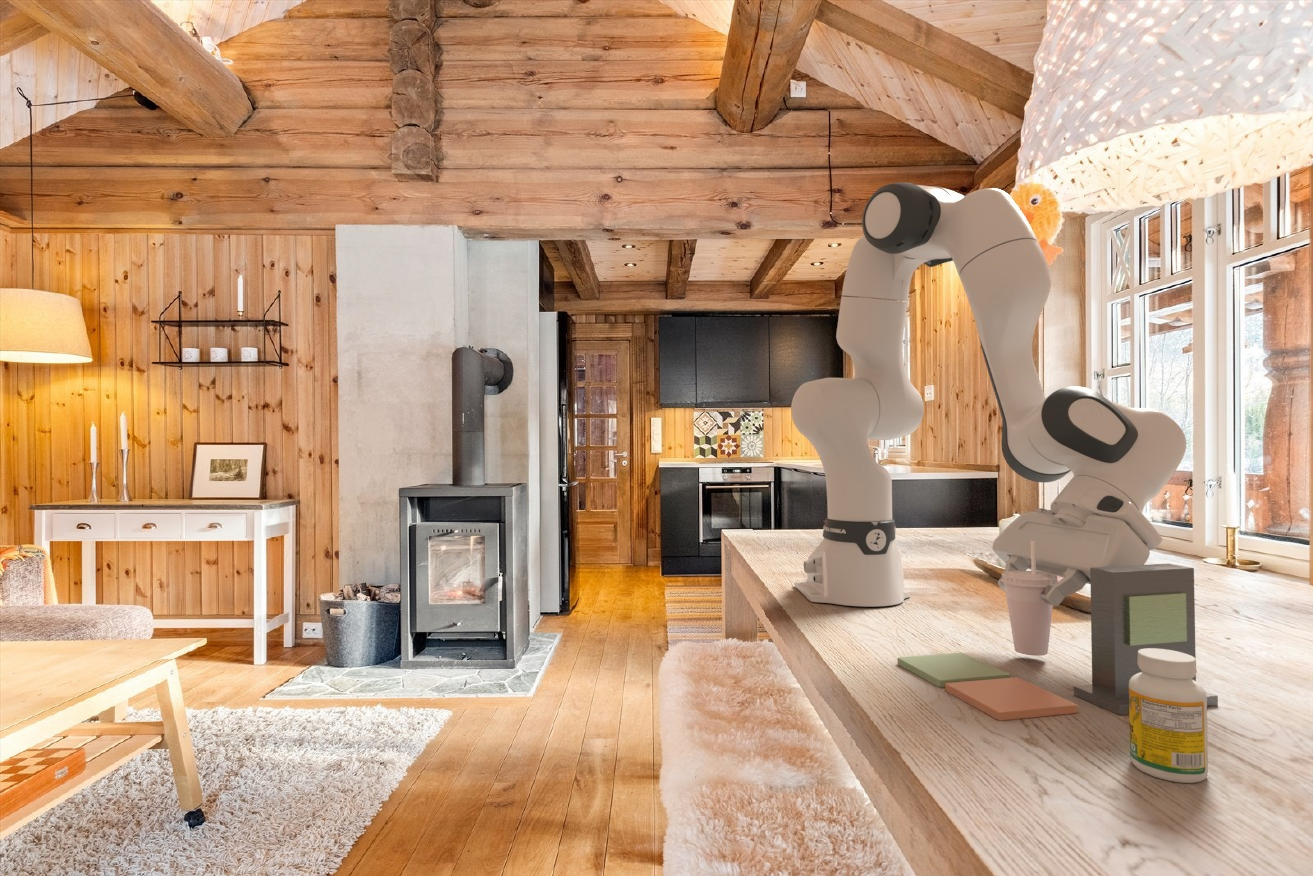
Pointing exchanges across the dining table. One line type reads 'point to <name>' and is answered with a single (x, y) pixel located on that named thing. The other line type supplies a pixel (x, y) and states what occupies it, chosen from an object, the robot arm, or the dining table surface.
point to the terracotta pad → (1010, 698)
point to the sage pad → (950, 668)
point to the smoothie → (1029, 607)
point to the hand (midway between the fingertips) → (1025, 595)
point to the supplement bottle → (1168, 717)
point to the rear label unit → (1136, 626)
